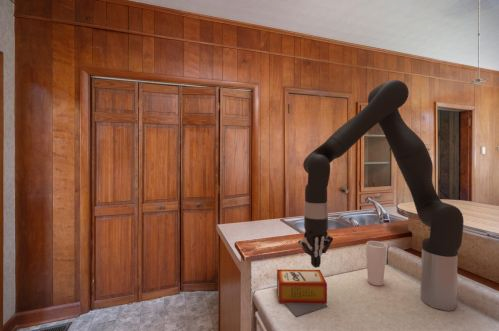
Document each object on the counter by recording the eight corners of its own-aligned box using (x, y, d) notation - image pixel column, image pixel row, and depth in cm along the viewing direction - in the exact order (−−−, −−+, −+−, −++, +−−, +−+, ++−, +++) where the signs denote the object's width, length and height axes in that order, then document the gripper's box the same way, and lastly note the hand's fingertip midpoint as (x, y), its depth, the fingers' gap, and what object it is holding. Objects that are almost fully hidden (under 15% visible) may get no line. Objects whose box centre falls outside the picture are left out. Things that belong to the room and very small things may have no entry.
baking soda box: (326, 283, 80) (277, 283, 81) (326, 303, 81) (277, 302, 81) (319, 269, 90) (275, 269, 90) (319, 287, 90) (276, 286, 91)
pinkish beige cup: (389, 287, 90) (390, 247, 89) (370, 287, 90) (371, 247, 89) (379, 277, 97) (380, 240, 96) (362, 277, 97) (363, 240, 96)
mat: (306, 289, 89) (306, 288, 89) (327, 306, 79) (327, 305, 79) (278, 297, 85) (277, 296, 85) (296, 317, 74) (296, 315, 74)
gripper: (306, 220, 75) (306, 275, 76) (339, 215, 80) (339, 267, 81) (292, 214, 81) (292, 265, 82) (324, 210, 87) (324, 258, 88)
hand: (315, 266), depth 82 cm, fingers closed
